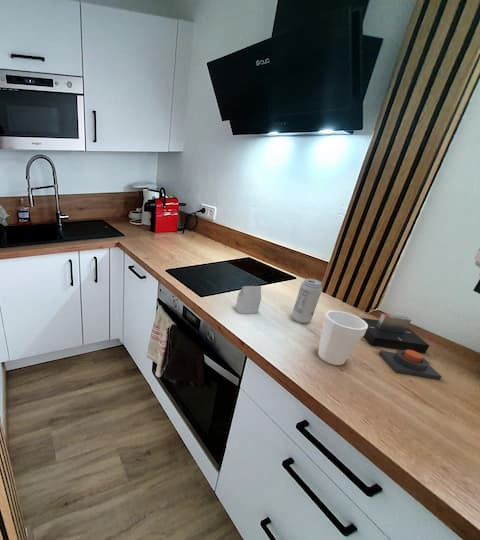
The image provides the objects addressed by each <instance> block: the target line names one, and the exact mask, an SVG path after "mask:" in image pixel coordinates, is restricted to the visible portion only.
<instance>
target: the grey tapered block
mask: <svg viewBox="0 0 480 540" xmlns="http://www.w3.org/2000/svg"><path fill="white" fill-rule="evenodd" d="M261 301H262V286H261V285H246V286H245V285H243V286H242V287H241V289H240V291H239V292H238V294H237V298H236V303H235V310H236V311H237V312H238V313H239V314H259V313H258V312H259V309H260V305H261Z"/></svg>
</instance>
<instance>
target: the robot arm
mask: <svg viewBox="0 0 480 540" xmlns="http://www.w3.org/2000/svg"><path fill="white" fill-rule="evenodd" d="M474 260H475V262H474V265H475V266H476V267H478V268H479V269H480V247H479V248H478V249H477V252H476V254H475V256H474ZM479 277H480V273H479ZM472 292H475V293H477V294H479V295H480V278H479V279H478V281H477V282H476V284H475V286H474V288H473V291H472Z"/></svg>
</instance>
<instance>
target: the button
mask: <svg viewBox="0 0 480 540" xmlns="http://www.w3.org/2000/svg"><path fill="white" fill-rule="evenodd" d="M403 356H404V357H405V358H406V359H408V360H410V361H413V362H416V363H420V362H421V360H422V359H423V358H424V355H423V354H422V353H418V352H416V351H413V350H405V352H404V354H403Z"/></svg>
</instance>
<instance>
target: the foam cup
mask: <svg viewBox="0 0 480 540" xmlns="http://www.w3.org/2000/svg"><path fill="white" fill-rule="evenodd" d="M361 318H362V317H360V316H357V315H354V314H353V313H350V312H346V311H341V310H328V311H326V312H325V315H324V316H323V320H322V322H323V324H322V329H321V333H320V339H319V345H318V350H317V355H318V357H319V358H320V359H321V360H323V361H325V362H326V363H328V364H331V365H334V366H342V365H344V363H346V361H347V360H348V359H349V357H350V355H351V354H352V352H353V351H354V349H355V348H356V346H357V345H358V344H359V342H360V341H361V339H362V338H363V337H364V335H365V333H366V330H367V328H368V324H367V323H366V322H365V321H364V320H362V319H361Z"/></svg>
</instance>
